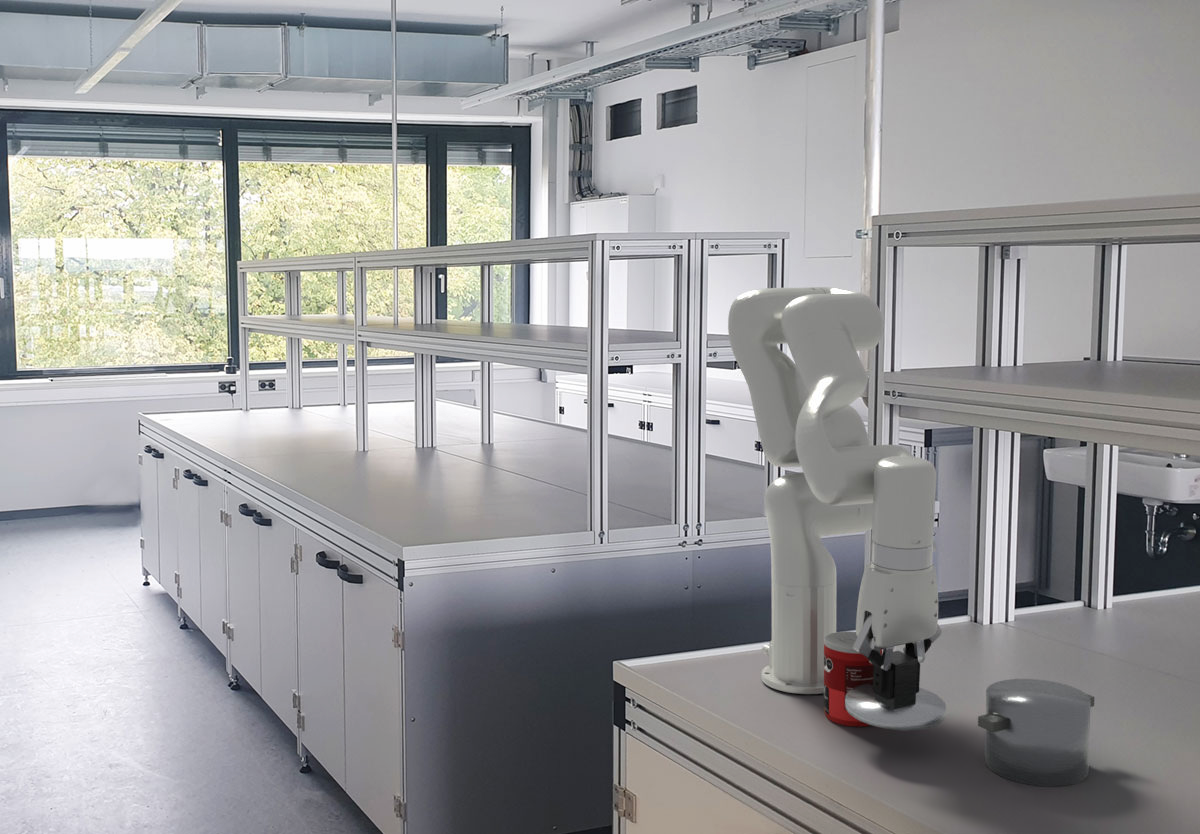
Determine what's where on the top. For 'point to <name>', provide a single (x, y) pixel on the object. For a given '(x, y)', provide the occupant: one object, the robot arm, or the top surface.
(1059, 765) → the pot
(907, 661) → the lid
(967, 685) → the top surface
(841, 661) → the canned food
